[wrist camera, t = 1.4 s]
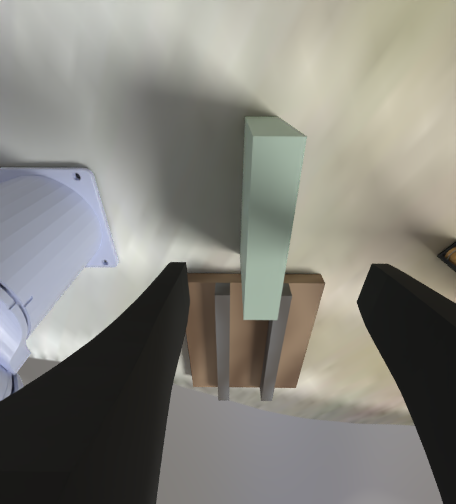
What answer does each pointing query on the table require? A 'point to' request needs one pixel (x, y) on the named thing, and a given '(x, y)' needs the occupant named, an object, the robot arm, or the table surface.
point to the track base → (248, 334)
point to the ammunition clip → (449, 256)
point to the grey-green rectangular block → (267, 211)
